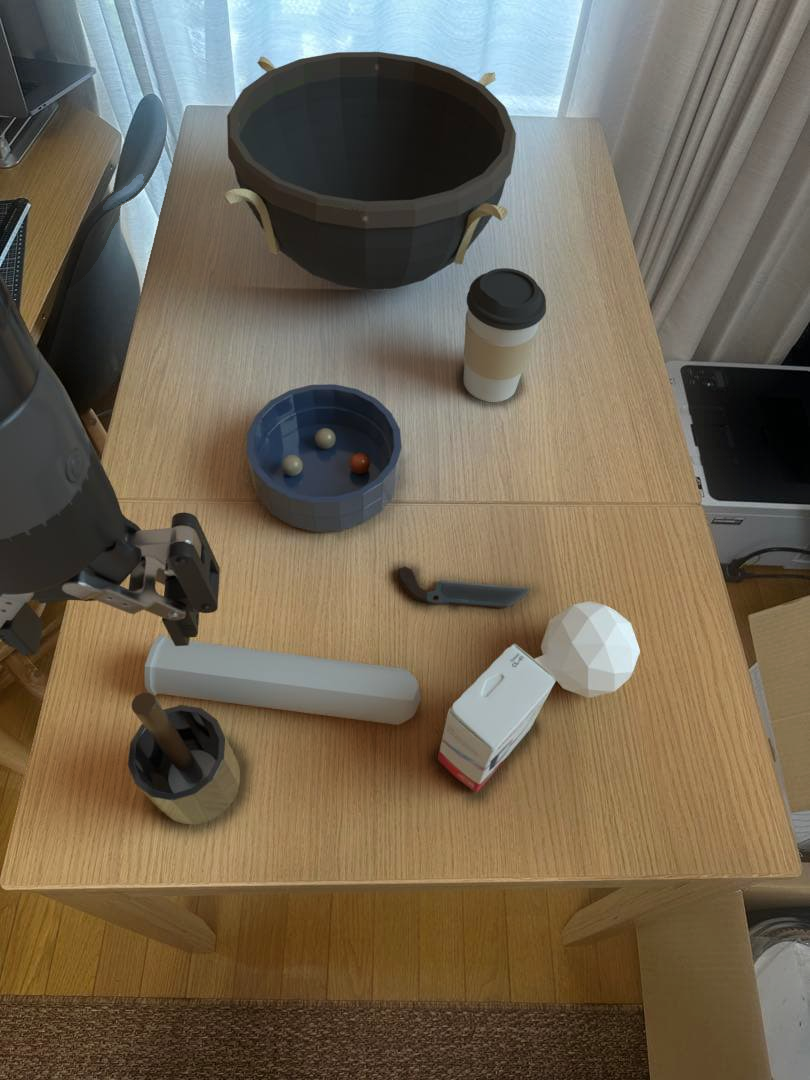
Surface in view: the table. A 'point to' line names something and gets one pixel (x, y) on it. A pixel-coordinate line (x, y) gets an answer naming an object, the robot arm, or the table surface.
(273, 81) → the bowl
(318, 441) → the bead
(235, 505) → the table surface
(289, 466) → the bead
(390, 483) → the mixing bowl
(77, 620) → the table surface
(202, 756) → the brown handled pestle
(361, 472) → the bead
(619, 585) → the table surface
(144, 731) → the holder
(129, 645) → the table surface
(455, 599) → the knife
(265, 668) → the tube
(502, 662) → the ink box
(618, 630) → the light bulb
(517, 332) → the coffee cup
